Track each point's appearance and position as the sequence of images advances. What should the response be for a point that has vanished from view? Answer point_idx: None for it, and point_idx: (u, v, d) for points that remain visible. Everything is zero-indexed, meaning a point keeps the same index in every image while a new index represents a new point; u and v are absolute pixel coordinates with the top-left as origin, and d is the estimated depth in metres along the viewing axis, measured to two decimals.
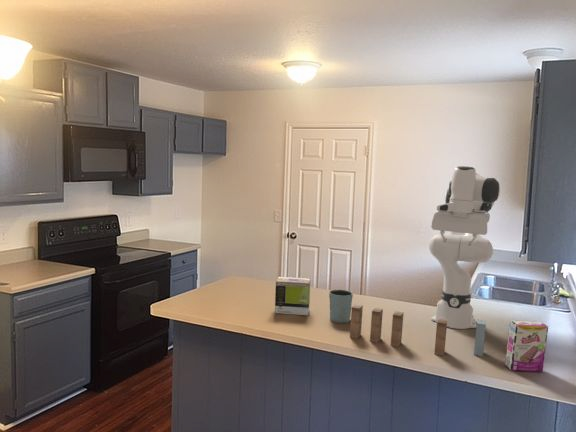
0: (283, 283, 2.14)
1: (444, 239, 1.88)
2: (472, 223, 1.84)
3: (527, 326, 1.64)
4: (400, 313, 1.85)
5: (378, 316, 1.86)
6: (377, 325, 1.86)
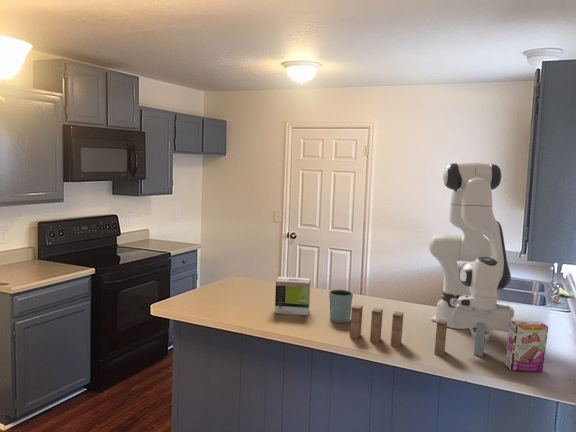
0: (283, 283, 2.14)
1: (473, 334, 1.80)
2: (495, 319, 1.76)
3: (527, 326, 1.64)
4: (400, 313, 1.85)
5: (378, 316, 1.86)
6: (377, 325, 1.86)
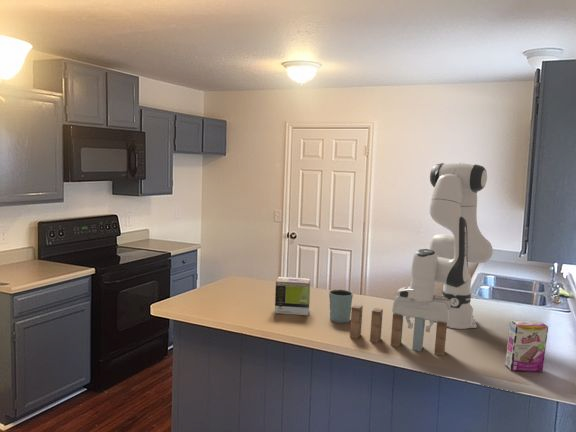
0: (283, 283, 2.14)
1: (409, 325, 1.82)
2: (433, 310, 1.78)
3: (527, 326, 1.64)
4: None
5: (378, 316, 1.86)
6: (377, 325, 1.86)
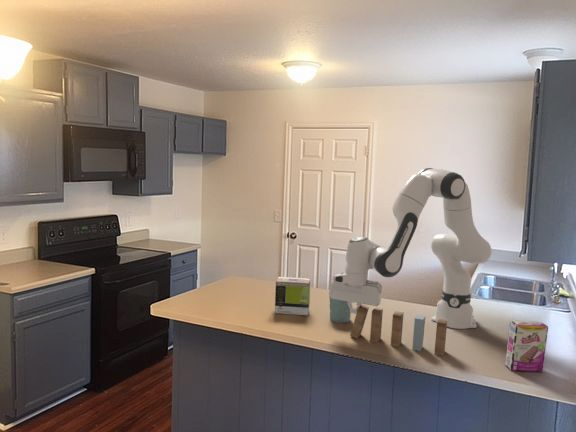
0: (283, 283, 2.14)
1: (351, 309, 1.92)
2: (365, 294, 1.88)
3: (527, 326, 1.64)
4: (400, 313, 1.85)
5: (378, 316, 1.86)
6: (377, 325, 1.86)
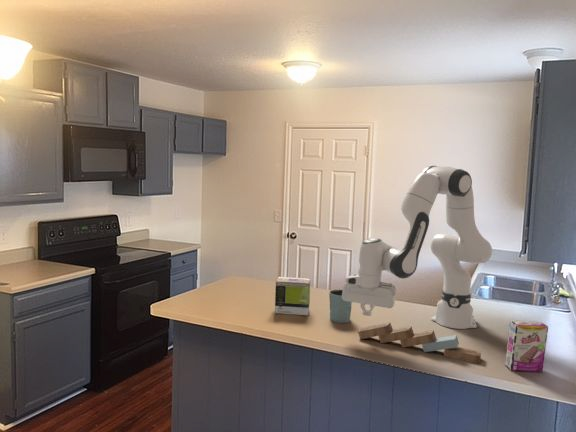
0: (283, 283, 2.14)
1: (364, 312, 1.89)
2: (379, 296, 1.86)
3: (527, 326, 1.64)
4: (434, 337, 1.80)
5: (406, 337, 1.82)
6: (397, 338, 1.83)
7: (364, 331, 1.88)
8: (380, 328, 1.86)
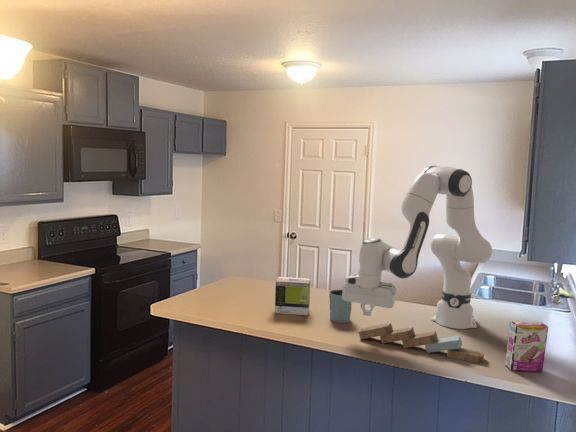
0: (283, 283, 2.14)
1: (364, 312, 1.89)
2: (379, 296, 1.86)
3: (527, 326, 1.64)
4: (436, 338, 1.80)
5: (407, 338, 1.82)
6: (398, 339, 1.83)
7: (364, 331, 1.88)
8: (381, 328, 1.85)
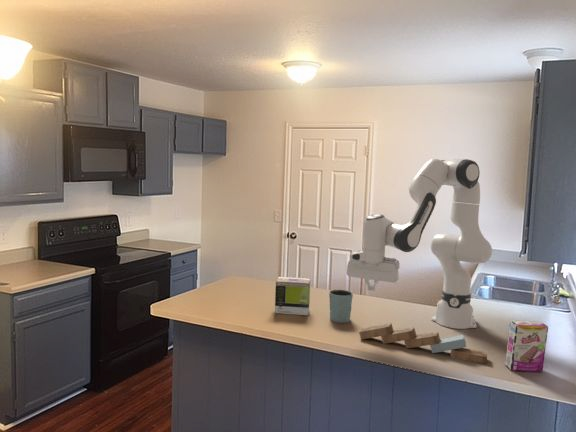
0: (283, 283, 2.14)
1: (369, 287, 1.93)
2: (383, 271, 1.89)
3: (527, 326, 1.64)
4: (438, 339, 1.80)
5: (409, 338, 1.82)
6: (399, 339, 1.83)
7: (365, 331, 1.88)
8: (381, 329, 1.85)
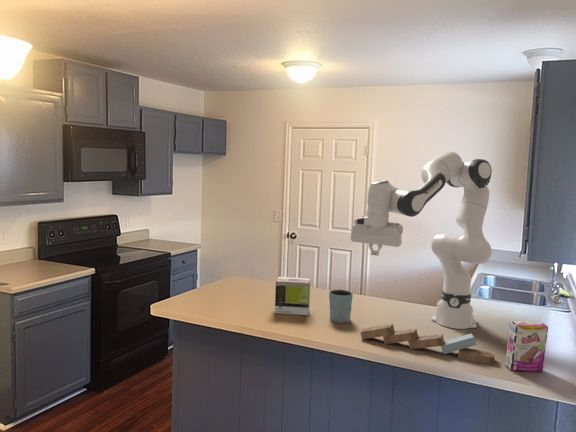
0: (283, 283, 2.14)
1: (372, 251, 1.96)
2: (386, 236, 1.93)
3: (527, 326, 1.64)
4: (443, 341, 1.79)
5: (411, 339, 1.81)
6: (401, 340, 1.83)
7: (366, 331, 1.88)
8: (383, 329, 1.85)
